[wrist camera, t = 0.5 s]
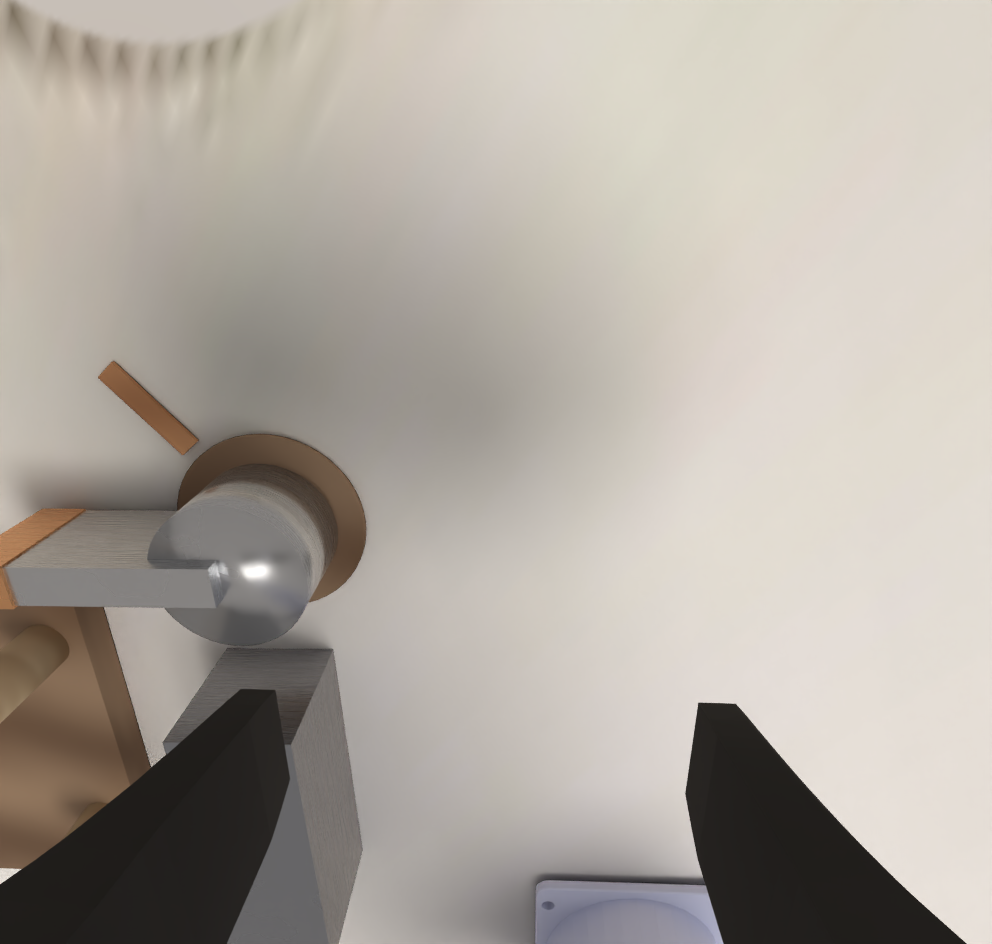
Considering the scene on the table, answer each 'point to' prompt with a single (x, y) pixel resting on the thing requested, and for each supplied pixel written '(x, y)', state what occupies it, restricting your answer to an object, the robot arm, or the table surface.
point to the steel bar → (295, 795)
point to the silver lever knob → (184, 556)
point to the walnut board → (60, 727)
